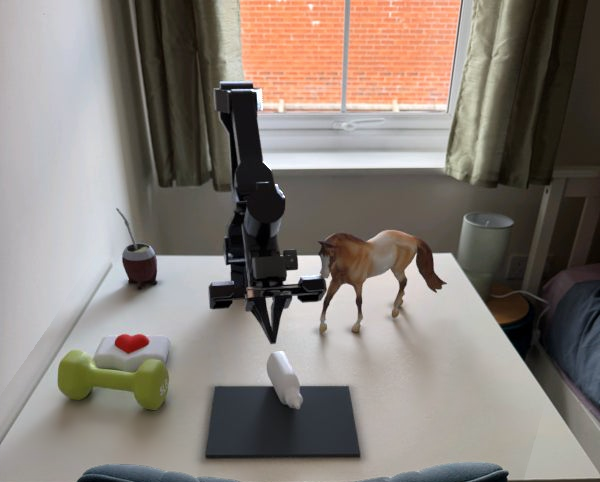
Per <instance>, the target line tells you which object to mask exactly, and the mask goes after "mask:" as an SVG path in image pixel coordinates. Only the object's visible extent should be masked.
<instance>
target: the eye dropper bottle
mask: <svg viewBox="0 0 600 482" xmlns="http://www.w3.org/2000/svg"><path fill="white" fill-rule="evenodd" d="M266 373H267V376H268V378H269V381H270V382H271V383H270V384H271V386H273V387H274V389H275V391H276V393H277V395H278V397H279V399H280V401H281V402H282V403H283V404H285V405H288V406H289V407H291V408H296V409H299V408H300V405H301V404H302V402H303V398H302V396H301V394H300V393H299V392H300V386H301V385H300V384H301V383H300V381H299V377H298V376H297V374H296V372H295V370H294V368H293V366H292V364H291V362H290V360H289V359H288V357H287V355H286V353H285V352H284V351H281V350H280V351H272V352H271V353H270V354H269V356H268V358H267V362H266Z"/></svg>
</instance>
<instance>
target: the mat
mask: <svg viewBox="0 0 600 482" xmlns="http://www.w3.org/2000/svg"><path fill="white" fill-rule="evenodd" d="M299 393H300V394H301V396H302V398H303V402H302V404H301V405H300V408H299V409H296V408H291V407H289V406H288V405H285V404H283V403H282V402H281V401H280V399H279V397H278V395H277V393H276V391H275V389H274V387H273V385H231V386H230V385H219V386H218V385H215V386H214V390H213V396H212V404H211V410H210V411H211V412H210V418H209V424H208V433H207V440H206V448H205V453H204V456H205V459H251V458H252V459H255V458H256V459H258V458H259V459H261V458H263V459H265V458H267V459H271V458H273V459H275V458H281V459H282V458H360V457H361V450H360V444H359V438H358V433H357V426H356V421H355V417H354V409H353V404H352V398H351V392H350V387H349V386H348V385H300V392H299Z"/></svg>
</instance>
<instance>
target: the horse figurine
mask: <svg viewBox="0 0 600 482" xmlns="http://www.w3.org/2000/svg"><path fill="white" fill-rule="evenodd" d="M317 243H318V244H319V245H321V247H320V249H319V251H318V253H317V254H318V257H319V258H320V263H321V269H320V270H319V275H321V276H322V277H323V278H324V279H325V280H326V279H329V277H331V280H330V282H329V285H328V286H327V291H326V293H325V295H324V299H323V303H322V310H321V313H320V317H319V322H320V323H319V326H318V327H319V328H318V329H319V333H322V334H323V333H325V332H326V331H327V330H328V324H327V323H326V320H327V319H326V315H327V311H328V308H329V306H330V304H331V301H332V300H333V299H334V296H335V295H336V293H338V291H339V290H340V288H341V287H342V286H343V285H346V284H347V285H349V286H352V287H353V290H354V292H355V296H356V297H355V305H356V307H357V319H356V321H355V322H354V323H353V325H352V326H351V327H352V328H351V332H353V333H357V332H359V331H360V330H361V327H362V326H361V322H362V321H363V319H364V315H363V309H362V307H363V285H364V283H365V282H366V281H367V280H368V279H370V278H375V277H378V276H381V275H384V274H385V273H386V272H388V271H389V270H390V271H391V272H392V274H393V276H394V277H395V279H396V280H397V281H398V292H397V294H396V297H395V299H394V301H393V308H392V310H391V317H392V319H397V318H398V317H399V316H400V308H399V307H401V306H402V305H403V304H404V299H403V297H404V296H405V294H406V292H405V289H406V287H407V285H408V277H407V276H406V274H405V273H406V271H405V270H406V269H407V268H408V267H409V266H410V264H411V263H412V262H413V261H414V259H415V265H416V268H417V270H418V273H419V275H420V276H421V277H422V279H423V280H424V281H425V282H424V283H425V284H426V286H427V288H428V289H430V290H431V291H432V292H434V293H435V294H437V293H438V291H439V290H442V289H443V286H444V285H448V282H446V281H444V280H442V278H441V277H439V275H438V274H437V273H436V271H435V263H434V255H433V251H432V249H431V247H430V246H429V245H428V244H427V242H426V241H424V240H423V239H422V238H420V237H418V236H416V235H412V234H411V235H410V234H408V233H406V232H404V231H401V230H395V229H386V230H383V231H381V232H379V233H377V234H376V235H375V236H373V237H372V238H370V239H368V240H365V239H363V238H360V237H359V236H356V235H354V234H352V233H351V232H347V231H337V232H334V233H333V234H331V235H329V236H328V237H327V238H325V240H318V241H317Z"/></svg>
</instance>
